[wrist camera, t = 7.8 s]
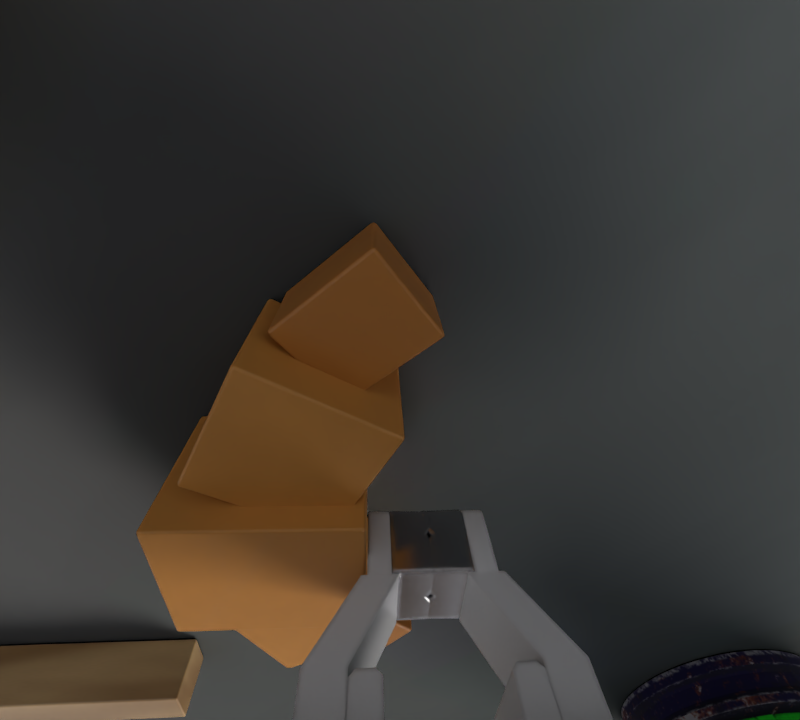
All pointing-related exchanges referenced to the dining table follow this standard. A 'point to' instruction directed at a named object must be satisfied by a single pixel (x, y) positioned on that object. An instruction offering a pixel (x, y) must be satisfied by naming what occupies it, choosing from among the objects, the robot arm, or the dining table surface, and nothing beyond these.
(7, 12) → the dining table surface
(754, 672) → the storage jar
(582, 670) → the robot arm
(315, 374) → the orange block cluster
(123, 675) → the oak frame
